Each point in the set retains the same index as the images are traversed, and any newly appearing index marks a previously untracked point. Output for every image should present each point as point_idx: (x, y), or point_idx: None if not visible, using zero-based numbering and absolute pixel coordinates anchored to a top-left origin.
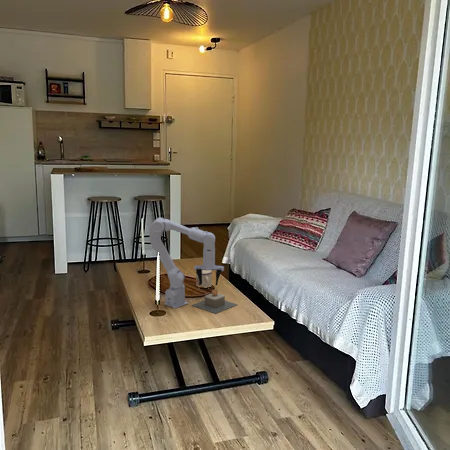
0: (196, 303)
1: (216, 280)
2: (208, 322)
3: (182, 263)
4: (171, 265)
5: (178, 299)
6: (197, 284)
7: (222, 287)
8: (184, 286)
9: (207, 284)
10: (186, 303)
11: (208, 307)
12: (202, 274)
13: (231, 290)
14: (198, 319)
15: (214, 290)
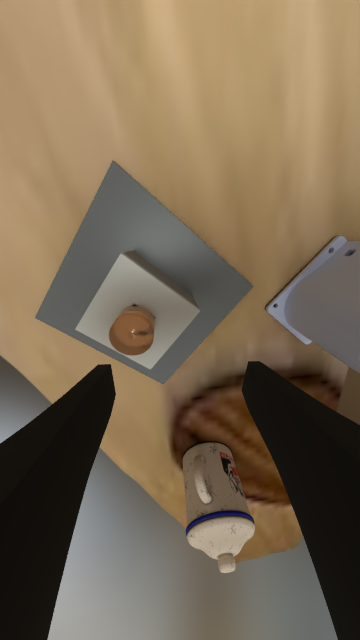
0: (230, 307)
1: (73, 402)
2: None
3: (261, 545)
4: None
5: (346, 273)
6: (230, 459)
7: (147, 459)
8: None
9: (196, 458)
10: (277, 298)
11: (169, 258)
12: (226, 512)
13: (111, 445)
14: (214, 15)
15: (133, 337)
